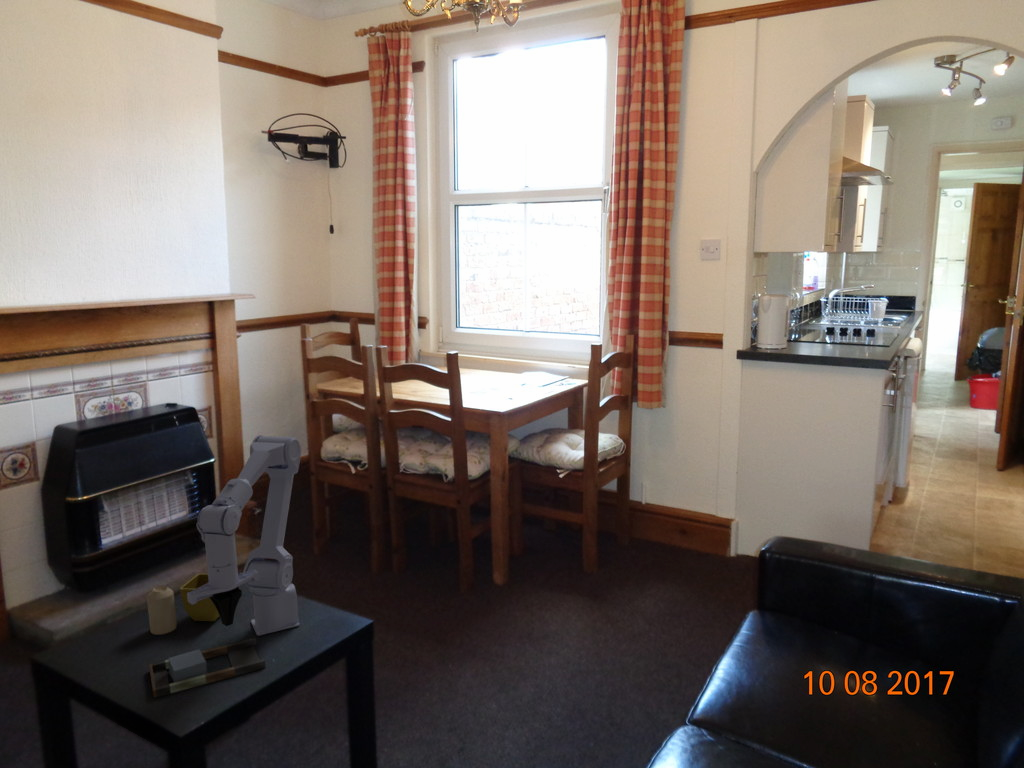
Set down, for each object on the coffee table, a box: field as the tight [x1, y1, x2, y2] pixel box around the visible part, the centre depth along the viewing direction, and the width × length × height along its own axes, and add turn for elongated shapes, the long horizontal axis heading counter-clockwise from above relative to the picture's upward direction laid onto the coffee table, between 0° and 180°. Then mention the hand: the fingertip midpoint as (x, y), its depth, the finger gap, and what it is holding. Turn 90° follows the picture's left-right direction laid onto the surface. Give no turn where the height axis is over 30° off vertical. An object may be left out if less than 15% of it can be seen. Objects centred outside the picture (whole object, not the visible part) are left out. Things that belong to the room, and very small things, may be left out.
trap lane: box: [148, 637, 266, 699], centre depth 153 cm, size 21×11×2 cm, turn 119°
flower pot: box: [179, 573, 220, 622], centre depth 175 cm, size 9×9×9 cm
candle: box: [146, 585, 178, 636], centre depth 169 cm, size 6×6×10 cm
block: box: [167, 648, 208, 683], centre depth 151 cm, size 6×6×4 cm
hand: (227, 623), depth 154 cm, fingers closed
